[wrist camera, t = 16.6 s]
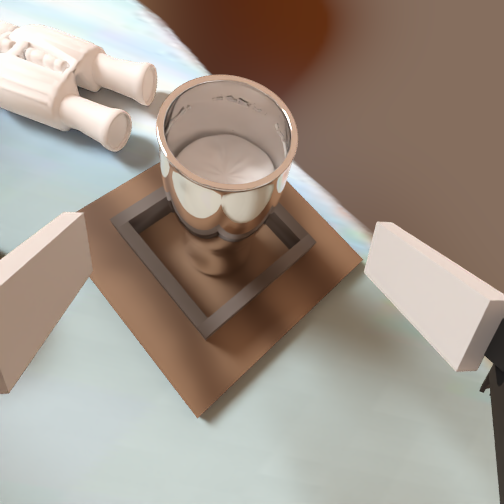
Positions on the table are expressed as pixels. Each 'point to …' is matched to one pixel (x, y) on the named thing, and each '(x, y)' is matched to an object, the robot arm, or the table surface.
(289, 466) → the table surface
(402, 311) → the robot arm
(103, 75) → the binoculars
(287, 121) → the beer glass
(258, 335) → the holder board
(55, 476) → the table surface
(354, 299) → the table surface
